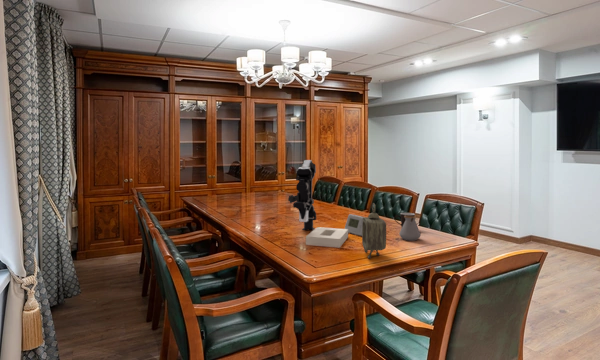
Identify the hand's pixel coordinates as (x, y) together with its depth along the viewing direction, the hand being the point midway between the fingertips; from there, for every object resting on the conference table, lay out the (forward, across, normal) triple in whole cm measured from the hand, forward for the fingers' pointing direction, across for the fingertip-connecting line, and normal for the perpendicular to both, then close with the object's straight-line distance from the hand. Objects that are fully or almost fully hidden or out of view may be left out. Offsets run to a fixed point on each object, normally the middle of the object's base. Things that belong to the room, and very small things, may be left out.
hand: (303, 218), depth 208 cm
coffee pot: (+12, -14, +56) cm, 59 cm away
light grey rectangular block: (+2, 0, 0) cm, 2 cm away
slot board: (+12, 0, +14) cm, 18 cm away
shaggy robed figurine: (+12, +20, +41) cm, 47 cm away
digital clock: (+12, -23, +25) cm, 36 cm away
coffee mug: (+12, -44, +52) cm, 69 cm away
